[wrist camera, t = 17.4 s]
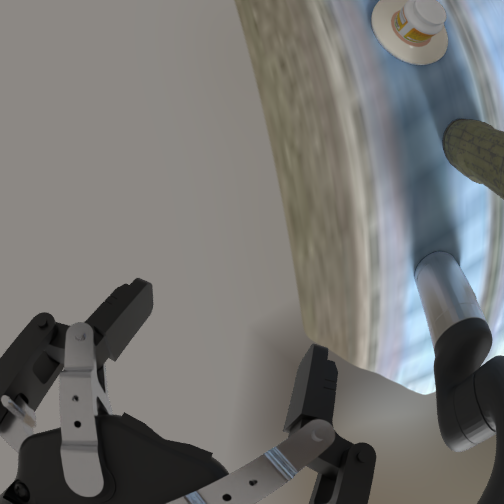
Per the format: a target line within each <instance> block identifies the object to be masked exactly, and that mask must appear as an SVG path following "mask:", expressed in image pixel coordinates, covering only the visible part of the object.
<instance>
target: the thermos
mask: <svg viewBox="0 0 504 504" xmlns="http://www.w3.org/2000/svg"><path fill="white" fill-rule="evenodd" d="M443 150H444V153H445V155H446V158H447V159H448V161H449V162H450V164H451V165H453V166H454V167H455V168H456V169H457V170H459V171H460V172H461V173H462V174H463V175H465V176H466V177H468V178H469V179H471V180H472V181H474V182H476V183H479V184H484V185H485V186H487V187H488V188H489V189H491V190H492V191H493V192H495V193H496V194H497V195H499V196H500V197H501V198H502V199H504V132H503V131H499V130H496V129H494V128H493V127H492V126H491V125H489V124H487V123H485V122H481V121H477V120H471V119H457V120H454V121H452V122H451V123H450V124H449V125H448V126H447V128H446V130H445V132H444V136H443Z"/></svg>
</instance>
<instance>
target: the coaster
mask: <svg viewBox="0 0 504 504" xmlns="http://www.w3.org/2000/svg"><path fill="white" fill-rule="evenodd" d="M407 1H408V0H380V1H379V2H378V3H377V4H376V5H375V7H374V9H373V12H372V15H371V25H372V29H373V32H374V35H375V37H376V38H377V40H378V42H379V43H380V44H381V45H382V47H383V48H384V49H385V50H386V51H387V52H389V53H390V54H391V55H392V56H394V57H396V58H397V59H399V60H401V61H403V62H406V63H409V64H413V65H427V64H431V63H434V62H436V61H438V60H439V59H441V58H442V57H443V55H444V54H445V52H446V50H447V46H448V36H447V32H446V29H445V27H444V25H443V28H442V30H441V31H440V32H439V33H437V34H436V35H434V36H432V37H431V38H429V39H427V40H426V41H424V42H421V43H413V42H410V41H408V40H406V39H405V38H403V37H402V36H401V35H400V34H399V33H398V31H397V30H396V28H395V24H394V20H395V17H396V15H397V14H398V13H399V11H400V10H401V9H402V7H403V6H404V5H405V3H406V2H407Z"/></svg>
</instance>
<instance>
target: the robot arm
mask: <svg viewBox="0 0 504 504" xmlns="http://www.w3.org/2000/svg"><path fill="white" fill-rule="evenodd" d="M415 282H416V285H417V289H418V292H419V295H420V299H421V302H422V305H423V309H424V312H425V316H426V319H427V323H428V327H429V331H430V335H431V339H432V343H433V348H434V353H435V361H434V375H435V385H436V398H437V415H438V423H439V428H440V432H441V435H442V438H443V440H444V442H445V444H446V445H447V446H448V447H449V448H450V449H451V450H453V451H455V452H461V451H465V450H467V449H470V448H472V447H474V446H476V445H477V444H479V443H481V442H483V441H485V440H486V439H488V438H490V437H492V436H493V435H495V434H496V436H497V437H496V438H497V439H496V440H497V442H496V443H497V444H496V456H495V462H494V467H493V470H492V474H491V477H490V479H489V482H488V484H487V486H486V488H485V490H484V492H483V494H482V496H481V498H480V500H479V501H478V503H477V504H504V356H501V355H500V356H495V357H494V358H492V359H490V360H489V361H487V362H486V363H485V364H484V365H482V366H481V364H482V363H483V361H484V360H485V358H486V357H487V355H488V353H489V351H490V349H491V346H492V334H491V331H490V329H489V326H488V324H487V322H486V319H485V317H484V315H483V313H482V311H481V309H480V306H479V304H478V302H477V300H476V296H475V294H474V292H473V290H472V288H471V286H470V284H469V282H468V280H467V278H466V276H465V275H464V273H463V271H462V269H461V267H459V265H458V264H457V262H456V260H455V259H454V257H453V256H452V255H451V254H449V253H447V252H434V253H432V254H429V255H428V256H426V257H425V258H424V259H423V260H422V261H421V262H420V263H419V265H418V266H417V268H416V271H415ZM152 309H153V291H152V284H151V283H149V282H147V281H145V280H142V279H140V278H136V279H135V280H134V281H133V282H132V283H131V284H130V285H128V284H124V285H122V286H120V287H118V288H117V289H115V290H114V292H113V293H112V294H111V295H110V296H109V297H108V298H107V299H106V300H105V302H103V303H102V304H101V305H100V306H99V307H98V308H97V310H96V311H95V312H94V313H93V314H92V315H91V316H90V317H89V318H88V319H87V320H86V321H85V322H84V323H83V322H78V323H75V324H73V325H71V326H68V325H65V324H61V323H57V322H55V320H54V317H53V316H52V315H51V314H49V313H40V314H38V315H37V316H35V317H34V318H33V319H32V320H31V322H30V323H29V324H28V325H27V326H26V327H25V328H24V330H23V331H22V332H21V333H20V334H19V336H18V337H17V338H16V339H15V341H14V342H13V343H12V344H11V345H10V347H9V348H8V349H7V351H6V352H5V353H4V354H3V356H2V357H1V358H0V436H1V437H2V438H3V439H4V440H5V441H6V442H7V443H8V444H9V445H10V446H11V447H12V448H13V449H14V450H16V451H17V452H18V453H19V459H18V460H19V462H18V472H17V476H16V479H15V481H14V482H13V483H12V484H11V485H10V486H9V487H8V488H7V489H6V490H5V491H4V492H3V493H2V494H1V495H0V504H255V503H257V502H258V501H260V500H262V499H263V498H265V497H266V496H268V495H269V494H271V493H272V492H274V491H275V490H277V489H278V488H280V487H281V486H283V485H284V484H285V483H287V482H288V481H290V480H291V479H292V478H293V477H294V476H295V474H296V473H298V472H299V471H300V470H301V469H303V468H304V467H305V466H307V467H309V468H311V469H313V470H314V471H316V472H318V475H317V479H316V482H315V486H314V490H313V492H312V496H311V499H310V502H309V504H367V503H368V499H369V495H370V489H371V485H372V479H373V474H374V467H375V462H376V453H375V450H374V449H373V447H372V446H370V445H369V444H367V443H357V444H353V443H351V442H349V441H347V440H345V439H343V438H342V437H340V436H339V435H338V434H337V433H336V432H335V430H334V428H333V424H332V418H333V411H334V403H335V395H336V392H335V391H336V385H337V384H336V383H337V376H338V371H337V368H336V365H335V362H333V361H330V360H327V358H328V348H326V347H323V346H320V345H316V344H312V345H311V346H310V348H309V350H308V351H307V353H306V354H305V356H304V358H303V359H302V361H301V363H300V365H299V368H298V371H297V375H296V379H295V384H294V388H293V393H292V397H291V401H290V405H289V409H288V414H287V417H286V422H285V425H284V429H283V432H288V433H289V436H288V438H287V439H286V440H284V441H283V442H281V443H280V444H279V445H277V446H276V447H274V448H272V449H271V450H269V451H268V452H266V453H264V454H263V455H261V456H259V457H258V458H256V459H255V460H253V461H251V462H250V463H248V464H246V465H245V466H243V467H241V468H240V469H238V470H236V471H234V472H232V473H231V474H229V473H228V471H227V470H226V469H225V467H224V466H223V465H221V463H220V462H218V461H217V460H216V459H214V458H213V457H211V456H212V454H213V453H211V452H208V451H205V450H203V449H200V448H198V447H195V446H193V445H190V444H185V443H180V442H174V441H170V440H165V439H163V438H162V437H160V436H159V435H158V434H156V433H155V432H154V431H153V430H152V429H151V428H149V427H148V426H147V425H146V424H145V423H143V422H141V421H139V420H137V419H135V418H133V417H132V416H130V415H128V414H126V413H125V412H124V414H123V415H122V416H119V415H113V414H112V409H111V405H110V401H109V398H108V390H107V381H106V368H105V362H106V360H107V359H108V358H110V359H112V360H113V361H116V360H117V358H118V357H119V356H120V354H121V353H122V351H123V350H124V349H125V347H126V346H127V345H128V343H129V342H130V341H131V339H132V338H133V337H134V335H135V334H136V333H137V331H138V330H139V329H140V327H141V326H142V325H143V323H144V322H145V321H146V320H147V318H148V317H149V316H150V314H151V312H152ZM480 366H481V367H480ZM63 368H64V371H62V369H63ZM59 374H60V376H59V400H60V422H61V427H60V428H57V429H53V430H50V431H45V432H41V433H37V434H33V428H35V427H36V416H35V410H36V409H37V407H38V406H39V404H40V403H41V401H42V399H43V398H44V396H45V395H46V393H47V392H48V390H49V389H50V387H51V386H52V384H53V382H54V381H55V380H56V378H57V376H58V375H59Z"/></svg>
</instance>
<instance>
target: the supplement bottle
mask: <svg viewBox="0 0 504 504" xmlns="http://www.w3.org/2000/svg"><path fill="white" fill-rule="evenodd" d="M445 20H446V12H445V10H444V8H443V7H442V5H441V4H440V3H439V2H438V1H436V0H408V1H407V2H406V3H405V5H404V6H403V7H402V9H401V10H400V11H399V13H398V14H397V15H396V17H395V20H394V24H395V28H396V30H397V31H398V33H399V34H400V35H401V36H402V37H403V38H405V39H406V40H408V41H410V42H413V43H421V42H424V41H426V40H427V39H429V38H431V37H432V36H434V35H436V34H437V33H439V32H440V31H441V30H442V28H443V25H444V22H445Z"/></svg>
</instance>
